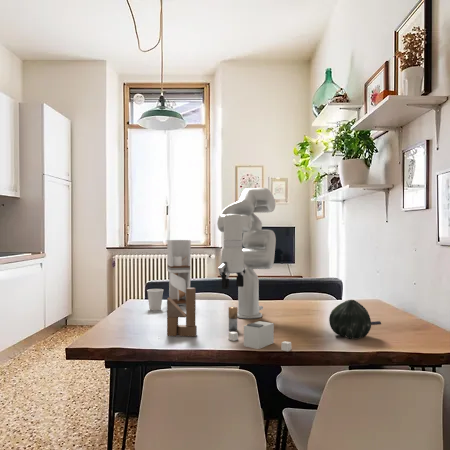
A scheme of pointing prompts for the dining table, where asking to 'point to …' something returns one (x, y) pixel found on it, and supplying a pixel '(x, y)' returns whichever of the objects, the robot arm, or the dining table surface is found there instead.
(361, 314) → the squash
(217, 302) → the dining table surface
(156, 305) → the dixie cup
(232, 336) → the rounded white cube
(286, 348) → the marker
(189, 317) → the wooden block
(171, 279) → the display case
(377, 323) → the bracket
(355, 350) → the dining table surface
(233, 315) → the peg
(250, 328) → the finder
